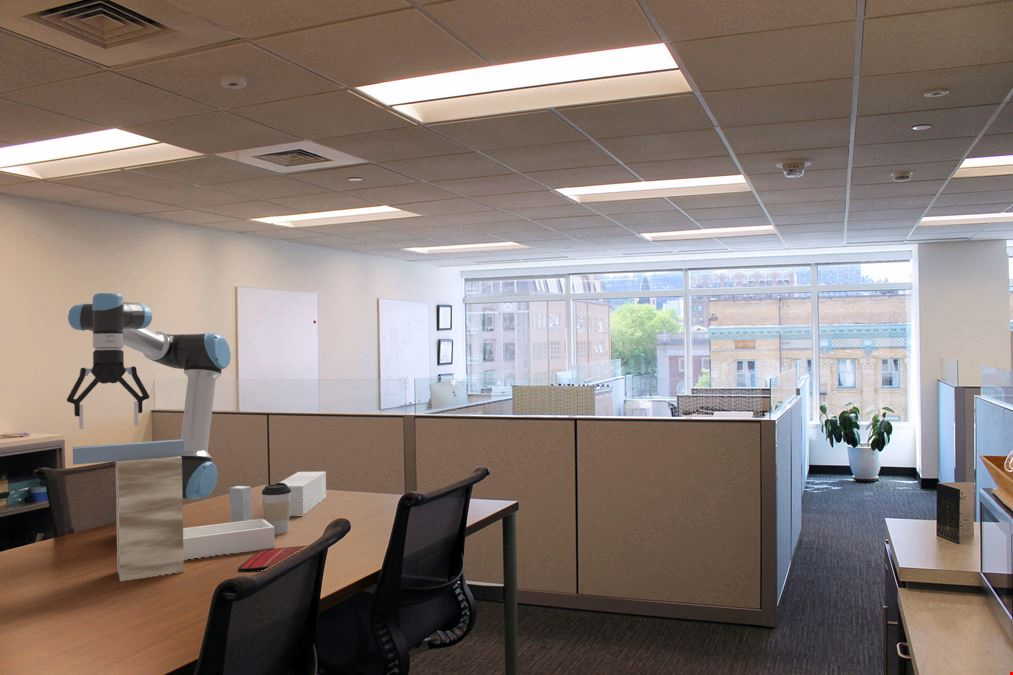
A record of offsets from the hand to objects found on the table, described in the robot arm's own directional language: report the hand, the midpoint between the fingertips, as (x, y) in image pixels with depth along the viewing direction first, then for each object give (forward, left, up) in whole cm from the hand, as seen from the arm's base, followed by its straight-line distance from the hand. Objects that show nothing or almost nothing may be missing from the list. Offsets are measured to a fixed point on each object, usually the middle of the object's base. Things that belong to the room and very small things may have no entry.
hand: (109, 427), depth 220 cm
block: (+14, +4, -8) cm, 17 cm away
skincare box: (-33, +41, -38) cm, 64 cm away
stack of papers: (-47, +65, -38) cm, 89 cm away
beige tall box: (+14, +8, -38) cm, 41 cm away
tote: (0, +26, -38) cm, 46 cm away
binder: (+22, +40, -38) cm, 60 cm away
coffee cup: (-13, +48, -38) cm, 62 cm away
